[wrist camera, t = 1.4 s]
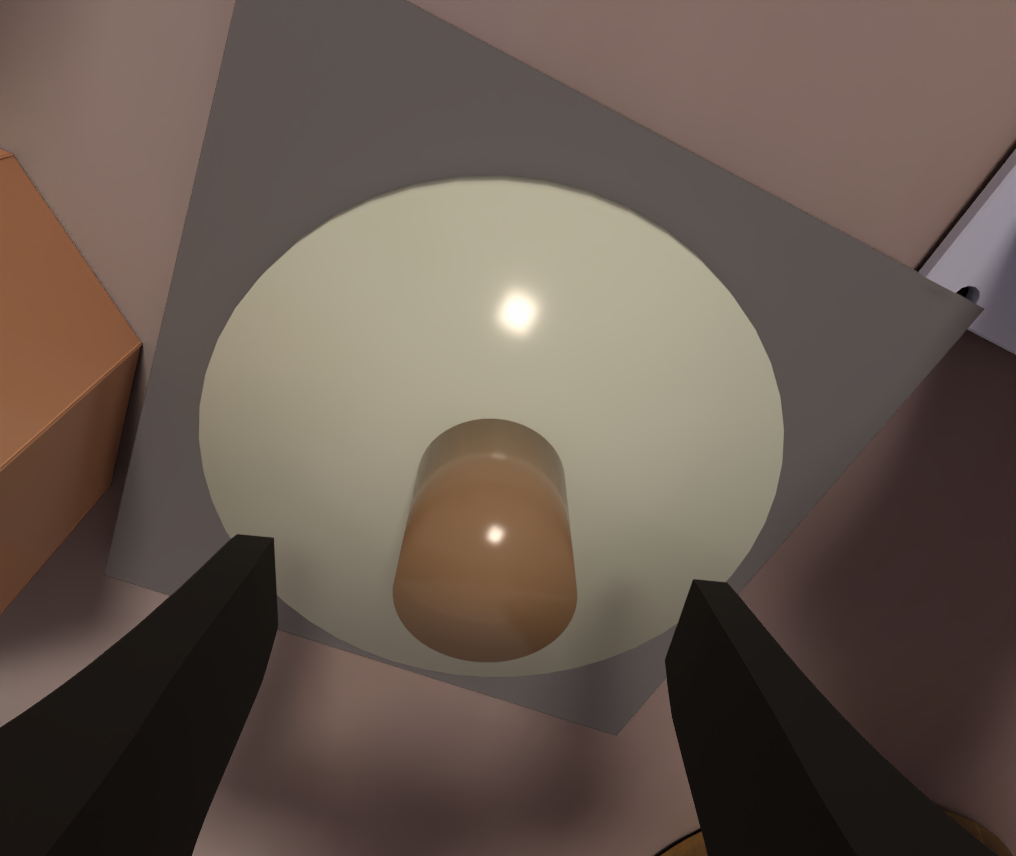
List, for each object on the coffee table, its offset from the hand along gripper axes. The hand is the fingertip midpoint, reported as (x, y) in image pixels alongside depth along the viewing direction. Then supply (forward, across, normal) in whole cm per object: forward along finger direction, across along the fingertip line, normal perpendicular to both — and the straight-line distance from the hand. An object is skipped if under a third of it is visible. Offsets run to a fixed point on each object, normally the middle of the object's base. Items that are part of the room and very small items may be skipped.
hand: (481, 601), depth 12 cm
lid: (+4, 0, 0) cm, 5 cm away
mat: (+5, 0, 0) cm, 5 cm away
